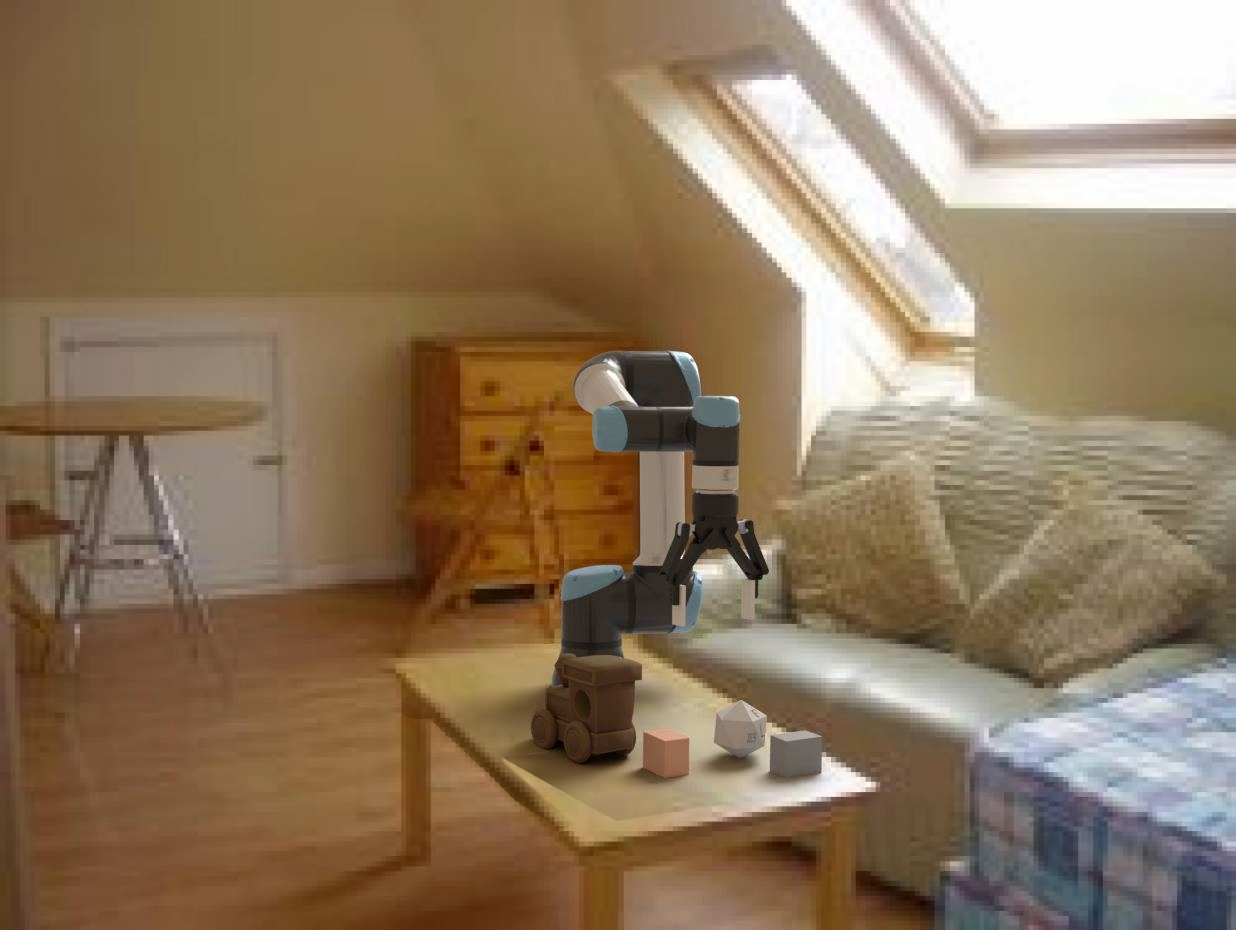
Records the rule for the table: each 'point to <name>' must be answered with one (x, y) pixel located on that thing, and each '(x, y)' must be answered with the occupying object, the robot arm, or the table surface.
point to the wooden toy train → (589, 706)
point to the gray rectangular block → (795, 754)
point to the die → (740, 729)
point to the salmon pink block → (666, 753)
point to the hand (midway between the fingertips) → (713, 622)
